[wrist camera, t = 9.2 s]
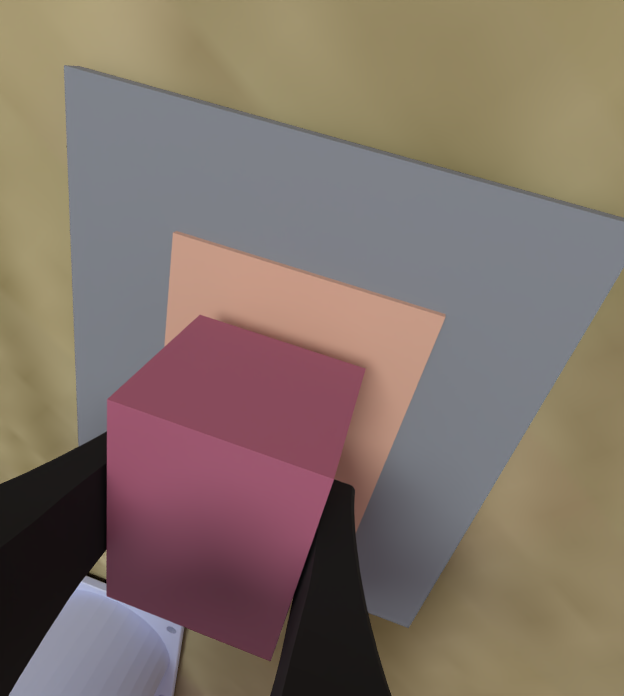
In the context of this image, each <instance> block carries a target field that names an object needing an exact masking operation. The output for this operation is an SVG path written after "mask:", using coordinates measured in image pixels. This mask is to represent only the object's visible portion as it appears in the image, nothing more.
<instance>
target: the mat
mask: <svg viewBox="0 0 624 696" xmlns="http://www.w3.org/2000/svg"><path fill="white" fill-rule="evenodd" d="M64 79H65V105H66V131H67V157H68V183H69V209H70V235H71V261H72V287H73V313H74V339H75V365H76V391H77V417H78V442H79V446H81V445H83V444H84V443H86V442H88V441H90V440H92V439H94V438H96V437H97V436H99V435H101V434H103V433H104V432H106V431H107V399H108V398H109V397H110V396H111V395H112V394H113V393H115V392H116V391H117V390H118V389H119V388H120V387H121V386H122V385H123V384H124V383H125V382H127V381H128V380H129V379H130V378H131V377H132V376H133V375H134V374H135V373H136V372H138V371H139V370H140V369H141V368H142V367H143V366H144V365H145V364H146V363H147V362H148V361H150V360H151V359H152V358H153V357H154V356H155V355H156V354H157V353H158V352H159V351H161V350H162V349H163V348H164V347H165V346H166V345H167V344H168V343H169V342H170V341H171V340H173V339H174V338H175V337H176V336H177V335H178V334H179V333H180V332H181V331H182V330H184V329H185V328H186V327H187V326H188V325H189V324H190V323H191V322H192V321H193V320H195V319H196V318H197V317H198V316H199V315H203V316H206V317H209V318H212V319H215V320H218V321H221V322H224V323H227V324H230V325H233V326H237V327H240V328H243V329H246V330H249V331H252V332H255V333H258V334H261V335H264V336H267V337H270V338H273V339H276V340H279V341H282V342H286V343H289V344H292V345H295V346H298V347H301V348H304V349H307V350H310V351H313V352H316V353H319V354H322V355H325V356H328V357H331V358H335V359H338V360H341V361H344V362H347V363H350V364H353V365H356V366H359V367H362V368H365V369H366V370H365V373H364V377H363V380H362V384H361V387H360V390H359V394H358V397H357V401H356V404H355V408H354V411H353V415H352V418H351V422H350V425H349V429H348V432H347V436H346V439H345V443H344V446H343V450H342V453H341V457H340V460H339V463H338V467H337V470H336V474H335V477H334V479H335V480H338V481H341V482H344V483H346V484H349V485H352V486H353V487H354V489H355V501H354V515H355V532H356V543H357V551H358V559H359V566H360V573H361V579H362V585H363V590H364V595H365V601H366V606H367V610H368V613H370V614H373V615H376V616H378V617H381V618H384V619H386V620H389V621H392V622H394V623H397V624H399V625H402V626H405V627H407V628H409V626H410V625H411V623H412V621H413V620H414V618H415V616H416V615H417V613H418V611H419V610H420V608H421V606H422V604H423V603H424V601H425V599H426V598H427V596H428V594H429V593H430V591H431V589H432V588H433V586H434V584H435V583H436V581H437V579H438V578H439V576H440V574H441V573H442V571H443V569H444V568H445V566H446V564H447V563H448V561H449V559H450V558H451V556H452V554H453V553H454V551H455V549H456V548H457V546H458V544H459V542H460V541H461V539H462V537H463V536H464V534H465V532H466V531H467V529H468V527H469V526H470V524H471V522H472V521H473V519H474V517H475V516H476V514H477V512H478V511H479V509H480V507H481V506H482V504H483V502H484V501H485V499H486V497H487V496H488V494H489V492H490V491H491V489H492V487H493V485H494V484H495V482H496V480H497V479H498V477H499V475H500V474H501V472H502V470H503V469H504V467H505V465H506V464H507V462H508V460H509V459H510V457H511V455H512V454H513V452H514V450H515V449H516V447H517V445H518V444H519V442H520V440H521V439H522V437H523V435H524V434H525V432H526V430H527V429H528V427H529V425H530V423H531V422H532V420H533V418H534V417H535V415H536V413H537V412H538V410H539V408H540V407H541V405H542V403H543V402H544V400H545V398H546V397H547V395H548V393H549V392H550V390H551V388H552V387H553V385H554V383H555V382H556V380H557V378H558V377H559V375H560V373H561V372H562V370H563V368H564V367H565V365H566V363H567V361H568V360H569V358H570V356H571V355H572V353H573V351H574V350H575V348H576V346H577V345H578V343H579V341H580V340H581V338H582V336H583V335H584V333H585V331H586V330H587V328H588V326H589V325H590V323H591V321H592V320H593V318H594V316H595V315H596V313H597V311H598V310H599V308H600V306H601V304H602V303H603V301H604V299H605V298H606V296H607V294H608V293H609V291H610V289H611V288H612V286H613V284H614V283H615V281H616V279H617V278H618V276H619V274H620V273H621V271H622V269H623V268H624V218H622V217H619V216H615V215H611V214H608V213H604V212H601V211H597V210H593V209H590V208H586V207H583V206H579V205H575V204H572V203H568V202H565V201H561V200H558V199H554V198H550V197H547V196H543V195H540V194H536V193H532V192H529V191H525V190H522V189H518V188H515V187H511V186H507V185H504V184H500V183H497V182H493V181H489V180H486V179H482V178H479V177H475V176H471V175H468V174H464V173H461V172H457V171H454V170H450V169H446V168H443V167H439V166H436V165H432V164H428V163H425V162H421V161H418V160H414V159H410V158H407V157H403V156H400V155H396V154H393V153H389V152H385V151H382V150H378V149H375V148H371V147H367V146H364V145H360V144H357V143H353V142H349V141H346V140H342V139H339V138H335V137H332V136H328V135H324V134H321V133H317V132H314V131H310V130H306V129H303V128H299V127H296V126H292V125H289V124H285V123H281V122H278V121H274V120H271V119H267V118H263V117H260V116H256V115H253V114H249V113H245V112H242V111H238V110H235V109H231V108H228V107H224V106H220V105H217V104H213V103H210V102H206V101H202V100H199V99H195V98H192V97H188V96H184V95H181V94H177V93H174V92H170V91H167V90H163V89H159V88H156V87H152V86H149V85H145V84H141V83H138V82H134V81H131V80H127V79H124V78H120V77H116V76H113V75H109V74H106V73H102V72H98V71H95V70H91V69H88V68H84V67H80V66H66V65H64Z"/></svg>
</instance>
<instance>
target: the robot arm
mask: <svg viewBox="0 0 624 696" xmlns="http://www.w3.org/2000/svg"><path fill="white" fill-rule="evenodd" d="M354 501H355V489H354V487H353V486H352V485H349V484H346V483H344V482H341V481H338V480H335V479H334V481H333V483H332V486H331V489H330V492H329V495H328V498H327V501H326V504H325V506H324V509H323V512H322V515H321V518H320V521H319V524H318V527H317V529H316V532H315V535H314V538H313V541H312V544H311V547H310V550H309V552H308V555H307V558H306V561H305V564H304V567H303V570H302V572H301V575H300V578H299V581H298V584H297V587H296V590H295V593H294V596H293V601H292V606H291V610H290V615H289V620H288V624H287V629H286V634H285V639H284V643H283V648H282V653H281V657H280V662H279V666H278V670H277V674H276V678H275V681H274V685H273V688H272V691H271V695H270V696H391V693H390V690H389V687H388V684H387V681H386V678H385V675H384V671H383V668H382V664H381V661H380V658H379V654H378V651H377V647H376V643H375V639H374V635H373V632H372V628H371V623H370V619H369V615H368V610H367V606H366V601H365V595H364V590H363V585H362V579H361V573H360V566H359V559H358V551H357V543H356V532H355V515H354ZM106 549H107V431H106V432H104V433H103V434H101V435H99V436H97V437H96V438H94V439H92V440H90V441H88V442H86V443H84V444H83V445H81V446H79V447H77V448H75V449H73V450H71V451H69V452H68V453H66V454H64V455H62V456H60V457H58V458H56V459H54V460H52V461H50V462H47V463H45V464H43V465H41V466H39V467H37V468H35V469H33V470H31V471H29V472H27V473H25V474H22V475H20V476H18V477H16V478H13V479H11V480H9V481H6V482H4V483H2V484H0V696H174V690H175V684H176V678H177V671H178V665H179V658H180V652H181V645H182V639H183V632H184V627H183V626H180V625H178V624H175V623H173V622H170V621H168V620H165V619H163V618H160V617H158V616H155V615H153V614H150V613H148V612H145V611H142V610H140V609H137V608H135V607H132V606H130V605H127V604H125V603H122V602H120V601H117V600H115V599H112V598H110V597H107V596H106V583H104V582H101V581H99V580H96V579H94V578H91V577H88V576H86V575H87V574H88V572H89V571H90V570H91V569H92V567H93V566H94V565H95V563H96V562H97V561H98V560H99V558H100V557H101V556H102V554H103V553H104V552H105V551H106Z"/></svg>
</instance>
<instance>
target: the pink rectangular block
mask: <svg viewBox="0 0 624 696" xmlns="http://www.w3.org/2000/svg"><path fill="white" fill-rule="evenodd" d="M365 370H366V369H365V368H362V367H359V366H356V365H353V364H350V363H347V362H344V361H341V360H338V359H335V358H331V357H328V356H325V355H322V354H319V353H316V352H313V351H310V350H307V349H304V348H301V347H298V346H295V345H292V344H289V343H286V342H282V341H279V340H276V339H273V338H270V337H267V336H264V335H261V334H258V333H255V332H252V331H249V330H246V329H243V328H240V327H237V326H233V325H230V324H227V323H224V322H221V321H218V320H215V319H212V318H209V317H206V316H203V315H199V316H198V317H197V318H196V319H195V320H193V321H192V322H191V323H190V324H189V325H188V326H187V327H186V328H185V329H184V330H182V331H181V332H180V333H179V334H178V335H177V336H176V337H175V338H174V339H173V340H171V341H170V342H169V343H168V344H167V345H166V346H165V347H164V348H163V349H162V350H161V351H159V352H158V353H157V354H156V355H155V356H154V357H153V358H152V359H151V360H150V361H148V362H147V363H146V364H145V365H144V366H143V367H142V368H141V369H140V370H139V371H138V372H136V373H135V374H134V375H133V376H132V377H131V378H130V379H129V380H128V381H127V382H125V383H124V384H123V385H122V386H121V387H120V388H119V389H118V390H117V391H116V392H115V393H113V394H112V395H111V396H110V397H109V398H108V399H107V584H106V596H107V597H110V598H112V599H115V600H117V601H120V602H122V603H125V604H127V605H130V606H132V607H135V608H137V609H140V610H142V611H145V612H148V613H150V614H153V615H155V616H158V617H160V618H163V619H165V620H168V621H170V622H173V623H175V624H178V625H180V626H183V627H185V628H188V629H190V630H193V631H195V632H198V633H200V634H203V635H205V636H208V637H211V638H213V639H216V640H218V641H221V642H223V643H226V644H228V645H231V646H233V647H236V648H238V649H241V650H243V651H246V652H248V653H251V654H253V655H256V656H258V657H261V658H263V659H266V660H268V661H271V659H272V656H273V653H274V650H275V647H276V644H277V641H278V639H279V636H280V633H281V630H282V627H283V624H284V621H285V618H286V616H287V613H288V610H289V607H290V604H291V601H292V598H293V595H294V593H295V590H296V587H297V584H298V581H299V578H300V575H301V572H302V570H303V567H304V564H305V561H306V558H307V555H308V552H309V550H310V547H311V544H312V541H313V538H314V535H315V532H316V529H317V527H318V524H319V521H320V518H321V515H322V512H323V509H324V506H325V504H326V501H327V498H328V495H329V492H330V489H331V486H332V483H333V481H334V477H335V474H336V470H337V467H338V463H339V460H340V457H341V453H342V450H343V446H344V443H345V439H346V436H347V432H348V429H349V425H350V422H351V418H352V415H353V411H354V408H355V404H356V401H357V397H358V394H359V390H360V387H361V384H362V380H363V377H364V373H365Z"/></svg>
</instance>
